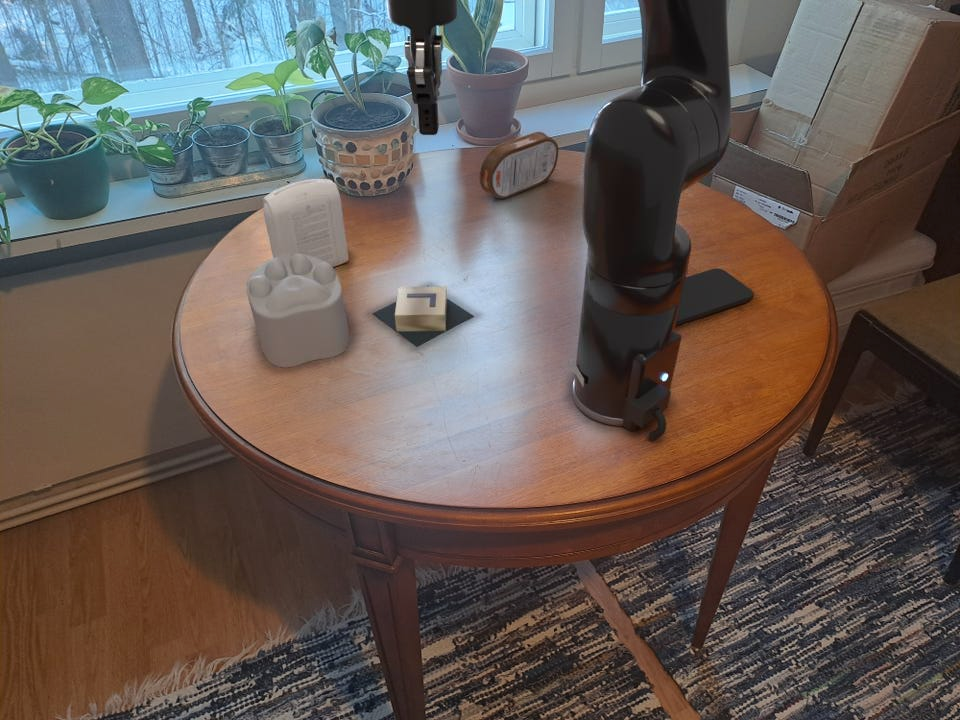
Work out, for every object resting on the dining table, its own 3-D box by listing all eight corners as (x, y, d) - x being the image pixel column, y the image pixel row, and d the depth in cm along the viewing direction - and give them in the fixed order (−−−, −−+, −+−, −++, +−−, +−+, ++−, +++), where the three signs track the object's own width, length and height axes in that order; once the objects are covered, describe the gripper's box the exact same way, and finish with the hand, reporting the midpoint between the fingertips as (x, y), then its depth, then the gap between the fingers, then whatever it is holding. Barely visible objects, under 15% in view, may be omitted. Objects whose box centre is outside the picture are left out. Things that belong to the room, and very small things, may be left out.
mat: (473, 316, 88) (473, 315, 88) (416, 346, 84) (416, 346, 84) (428, 286, 93) (428, 285, 93) (372, 313, 89) (372, 313, 89)
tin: (546, 173, 119) (549, 124, 114) (560, 179, 117) (563, 130, 112) (478, 200, 112) (477, 149, 106) (490, 207, 110) (491, 156, 105)
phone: (625, 295, 90) (719, 266, 95) (624, 300, 91) (718, 271, 95) (660, 327, 85) (758, 294, 90) (659, 332, 85) (756, 299, 90)
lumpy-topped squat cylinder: (267, 372, 80) (251, 311, 75) (252, 310, 90) (236, 251, 84) (357, 351, 83) (347, 290, 78) (333, 293, 92) (323, 234, 87)
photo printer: (341, 249, 101) (328, 167, 93) (354, 262, 98) (342, 179, 90) (272, 271, 97) (252, 187, 89) (284, 285, 94) (265, 200, 86)
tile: (447, 302, 90) (446, 285, 89) (445, 331, 86) (444, 313, 84) (400, 302, 90) (398, 286, 89) (396, 331, 86) (394, 314, 84)
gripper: (451, -14, 69) (456, 156, 80) (459, -42, 79) (463, 112, 90) (374, -14, 69) (390, 155, 80) (392, -42, 79) (404, 111, 90)
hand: (429, 132), depth 85 cm, fingers closed
